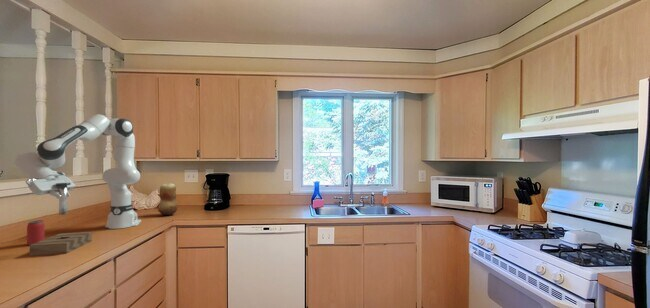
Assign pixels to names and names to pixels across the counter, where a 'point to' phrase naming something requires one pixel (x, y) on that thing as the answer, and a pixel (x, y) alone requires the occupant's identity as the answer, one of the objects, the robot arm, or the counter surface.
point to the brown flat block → (60, 243)
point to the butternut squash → (168, 199)
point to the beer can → (35, 232)
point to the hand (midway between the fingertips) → (64, 196)
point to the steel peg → (63, 198)
